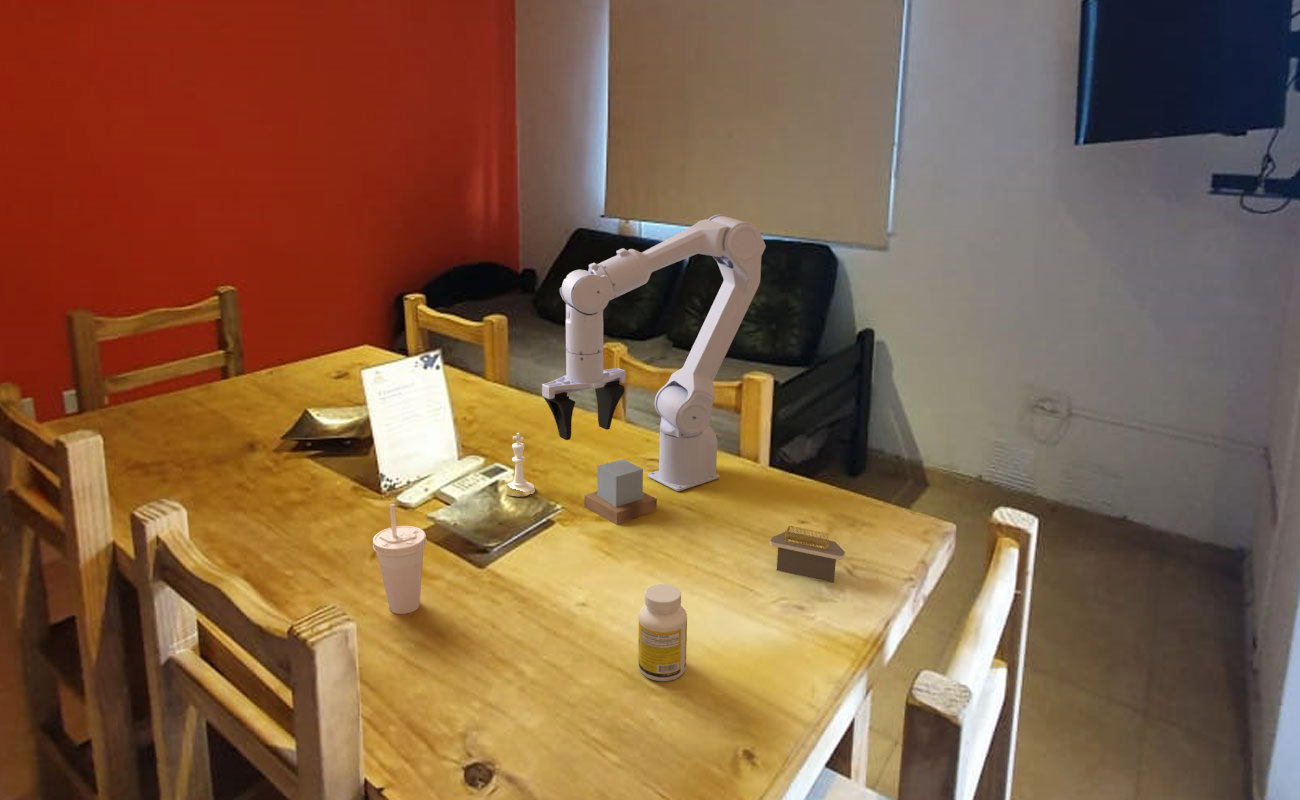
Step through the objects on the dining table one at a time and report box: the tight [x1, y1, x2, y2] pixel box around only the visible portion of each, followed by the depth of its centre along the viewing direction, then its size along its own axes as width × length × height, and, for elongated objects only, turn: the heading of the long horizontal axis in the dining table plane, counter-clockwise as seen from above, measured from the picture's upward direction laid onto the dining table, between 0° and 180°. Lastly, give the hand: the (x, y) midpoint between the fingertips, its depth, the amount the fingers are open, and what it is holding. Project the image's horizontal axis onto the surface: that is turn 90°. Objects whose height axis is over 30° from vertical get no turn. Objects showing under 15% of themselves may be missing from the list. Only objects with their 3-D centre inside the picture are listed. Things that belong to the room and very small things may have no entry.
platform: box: [769, 525, 846, 584], centre depth 127 cm, size 12×18×7 cm, turn 67°
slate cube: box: [596, 458, 644, 507], centre depth 144 cm, size 5×5×5 cm
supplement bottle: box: [638, 583, 688, 682], centre depth 105 cm, size 5×5×10 cm
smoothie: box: [372, 503, 428, 615], centre depth 115 cm, size 6×6×14 cm
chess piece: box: [506, 432, 536, 495], centre depth 149 cm, size 5×5×10 cm
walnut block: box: [583, 490, 658, 526], centre depth 145 cm, size 8×8×2 cm
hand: (584, 432), depth 147 cm, fingers open, 7 cm apart
